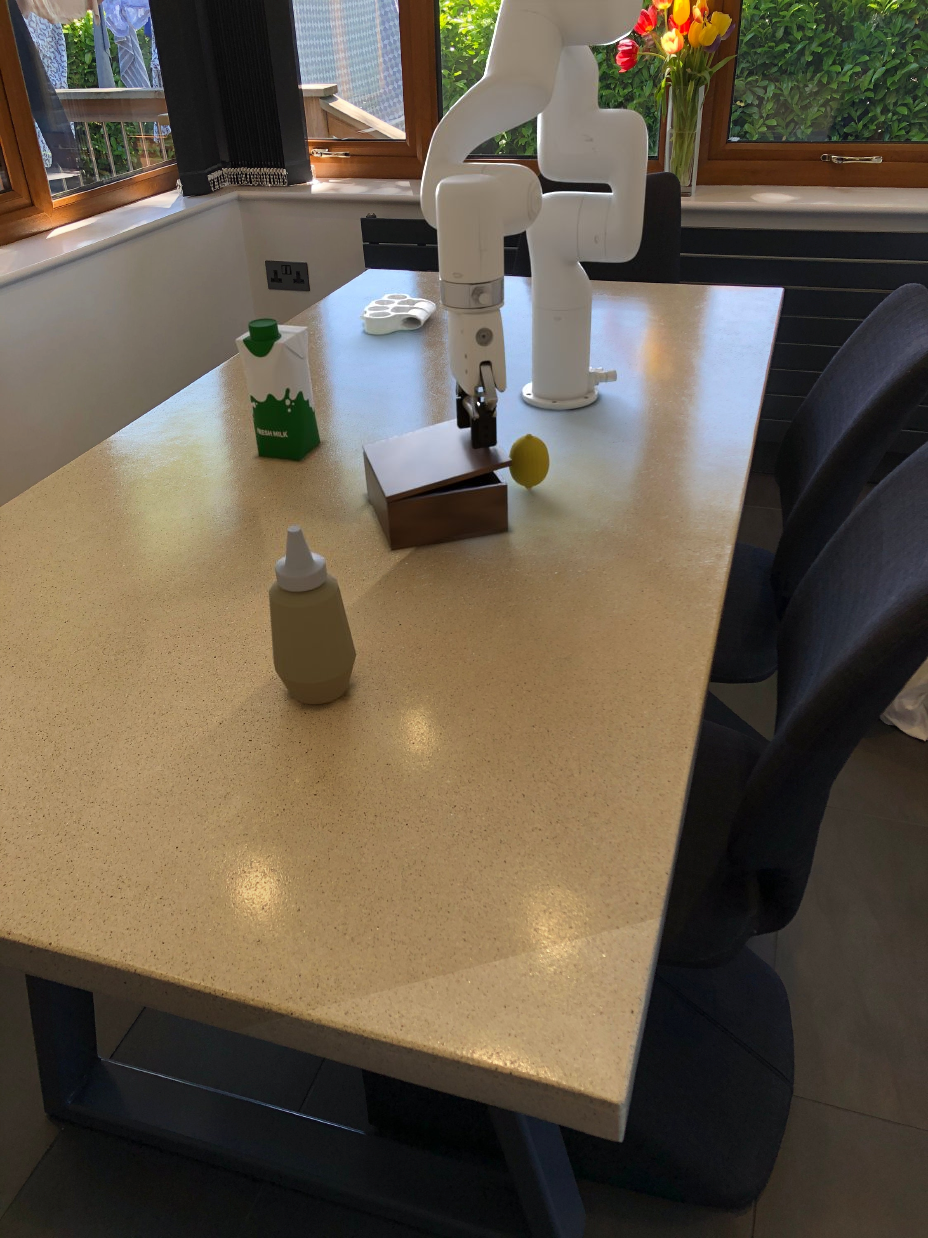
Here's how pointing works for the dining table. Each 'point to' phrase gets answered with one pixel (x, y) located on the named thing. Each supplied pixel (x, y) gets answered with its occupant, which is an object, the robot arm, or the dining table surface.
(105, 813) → the dining table surface
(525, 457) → the lemon
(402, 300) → the white multi-hole holder
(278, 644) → the squeeze bottle
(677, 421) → the dining table surface
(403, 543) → the box
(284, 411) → the milk carton
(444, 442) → the lid
